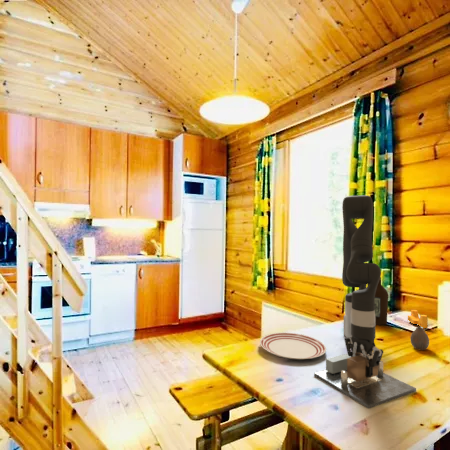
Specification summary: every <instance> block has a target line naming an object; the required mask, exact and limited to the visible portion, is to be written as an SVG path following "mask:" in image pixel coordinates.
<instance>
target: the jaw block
mask: <svg viewBox="0 0 450 450" xmlns="http://www.w3.org/2000/svg"><path fill="white" fill-rule="evenodd" d="M367 355H369V354H367ZM369 362H370V361H369ZM347 372H348V377H349V378H351V379H353V380H355V381H357V382H358V381H361V380H364V379H367V377H366V363H365V359H364V358H363V354H362V353H361V355H358V356H354V357H350V358H347ZM377 375H378V366H375V367H373V375H372V376H371V377H373V376H377ZM369 378H370V377H369Z"/></svg>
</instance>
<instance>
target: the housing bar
mask: <svg viewBox="0 0 450 450" xmlns="http://www.w3.org/2000/svg"><path fill="white" fill-rule="evenodd" d="M350 357H351V356H348V353H344V354H341V355H335V356H332V357H328V358H325V370H326V371H328V372H330V373H332V374H334V373H338V372H341V371H342V370H347V358H350Z"/></svg>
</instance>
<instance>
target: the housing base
mask: <svg viewBox="0 0 450 450" xmlns="http://www.w3.org/2000/svg"><path fill="white" fill-rule="evenodd" d="M313 376H314V377H315V378H317V379H318V380H320V381H322V382H323V383H325V384H327V385H329V386H330V387H332V388H334V389H335V390H337V391H338V392H341V394H343V395H345V396H347V397H348V398H350V399H352V400H354V401H355V402H356V403H358V404H360V405H362V406H363V407H365V408H366V409H368V410H369V409H372V408H375V407H377V406H380V405H382V404H385V403H388V402H392V401H394V400H397V399H400V398H402V397H405V396H407V395H410V394H413V393H416V392H417V388H416V387H415V386H413V385H410V384H408V383H406V382H405V381H401V380H399V379H398V378H395V377H393V376H391V375H389V374H387V373H384V362H383V361H382V360H380V363H379V365H378V375H377V376H373V377H370V378H367V379H364V380H361V381H358V382H357V381H355V380H353V379H351V378H349V377H348V372H347V370H342V371H341V372H338V373H334V374H332V373H330V372H328V371H326V369H323V370H320V371H317V372H314V373H313Z"/></svg>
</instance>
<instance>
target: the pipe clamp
mask: <svg viewBox="0 0 450 450" xmlns="http://www.w3.org/2000/svg"><path fill="white" fill-rule="evenodd" d="M408 320H409V321H410V322H411V323H413V324H418V325H419V326H421V327H423V329H425V328H428V327H429V326H428V323H429V322H428V320H429V319H428V316H427V314H426V315H425V314H420V316H419V311H418V310H417V309H411V310H410V315H407V321H408ZM410 322H409V323H410ZM411 323H410V324H411ZM413 324H412V325H413ZM418 325H417V326H418ZM419 326H418V327H419ZM421 327H420V328H421Z"/></svg>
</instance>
